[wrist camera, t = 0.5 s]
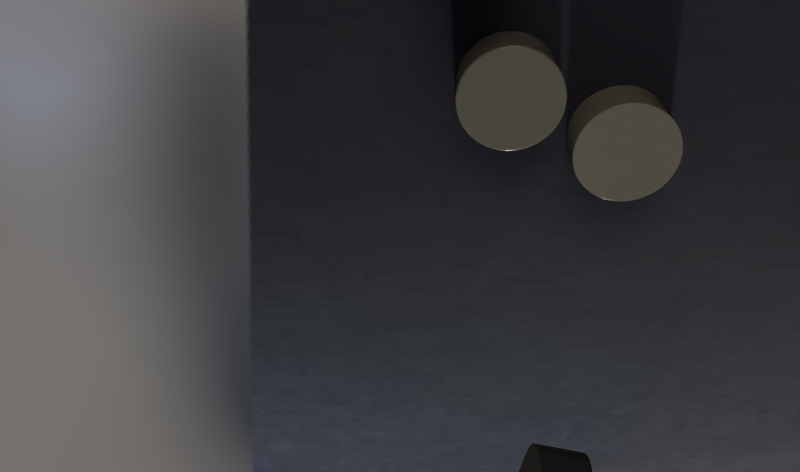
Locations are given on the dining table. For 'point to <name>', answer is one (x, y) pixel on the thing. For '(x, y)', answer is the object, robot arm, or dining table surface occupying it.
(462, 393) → the dining table surface
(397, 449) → the dining table surface
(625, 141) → the grey short cylinder
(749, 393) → the dining table surface
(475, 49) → the grey short cylinder
